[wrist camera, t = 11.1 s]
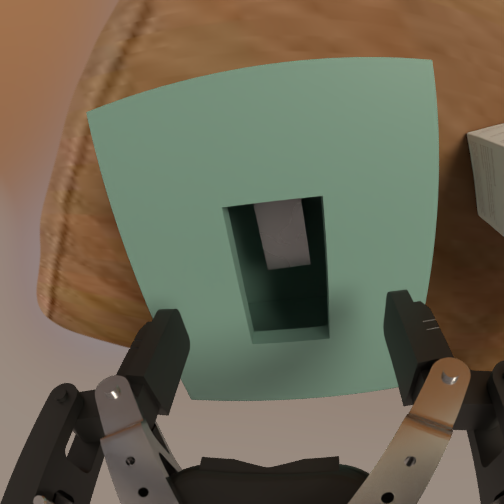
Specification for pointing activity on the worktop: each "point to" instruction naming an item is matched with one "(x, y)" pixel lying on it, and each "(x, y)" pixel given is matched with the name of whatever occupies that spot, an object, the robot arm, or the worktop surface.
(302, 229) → the block
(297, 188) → the money box
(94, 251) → the worktop surface
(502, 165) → the supplement box
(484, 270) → the worktop surface
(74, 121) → the worktop surface
